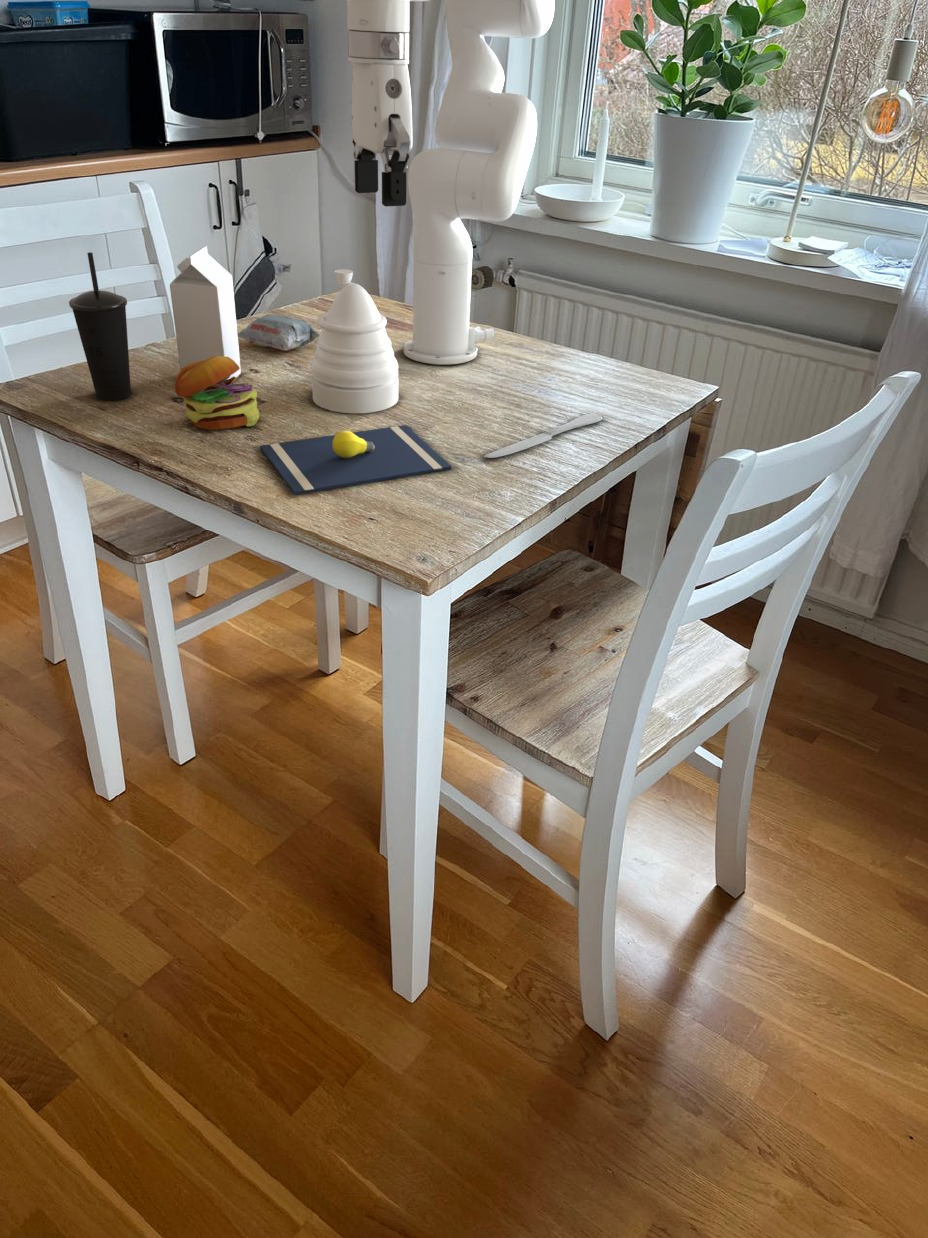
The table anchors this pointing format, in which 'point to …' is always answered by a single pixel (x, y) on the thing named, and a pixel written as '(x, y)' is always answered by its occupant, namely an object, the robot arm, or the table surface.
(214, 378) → the cheeseburger
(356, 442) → the light bulb
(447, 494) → the table surface
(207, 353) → the milk carton
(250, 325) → the packaged food
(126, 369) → the drinking cup
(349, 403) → the honey pot
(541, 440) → the butter knife
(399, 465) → the dish cloth
